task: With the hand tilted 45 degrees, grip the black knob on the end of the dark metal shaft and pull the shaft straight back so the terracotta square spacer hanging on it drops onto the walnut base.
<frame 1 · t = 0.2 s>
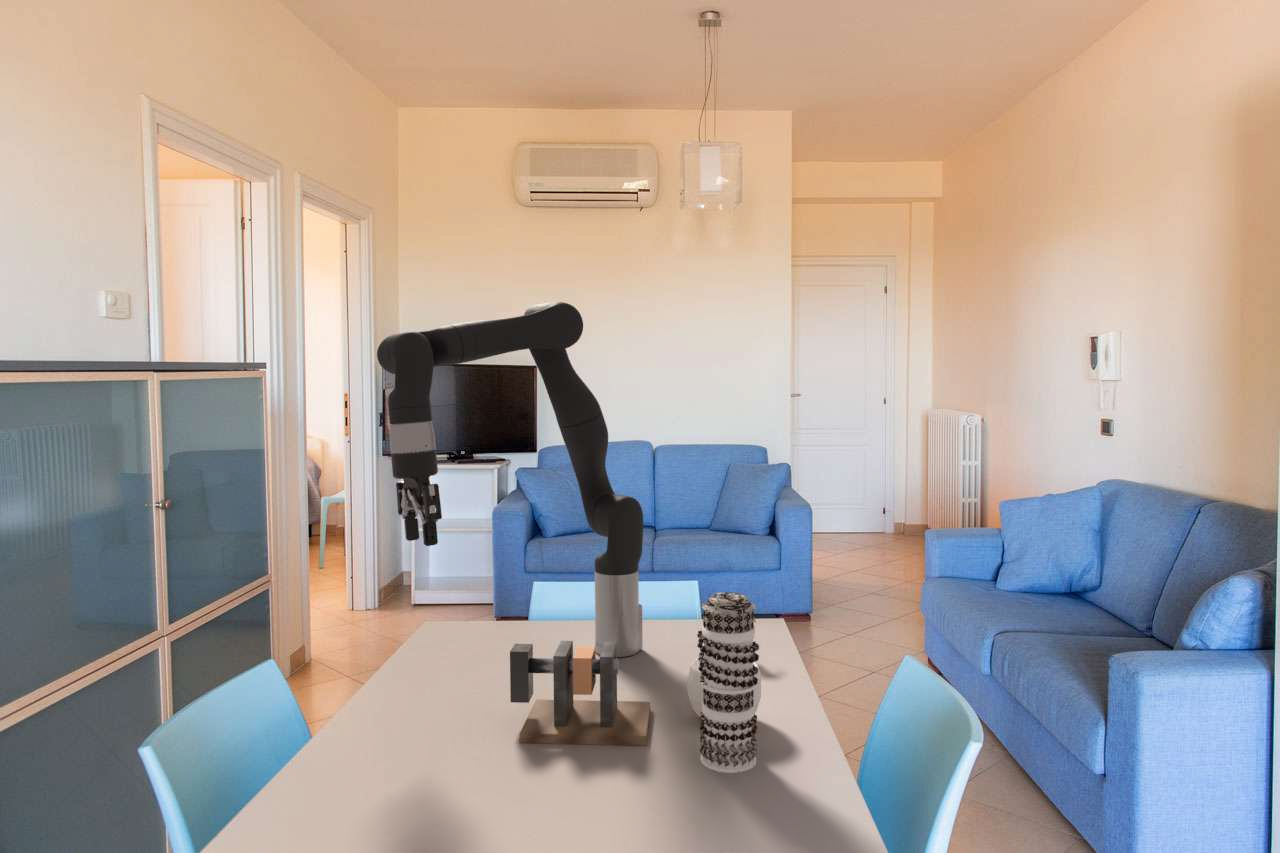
hand: (421, 542, 143), 29 cm above the table, tool pointing down, fingers open, 8 cm apart
rig: (588, 725, 138), on the table
cup: (724, 722, 139), on the table
decorative candle: (728, 761, 125), on the table
spacer: (584, 687, 137), point 6 cm above the table, touching shaft
shaft: (565, 673, 138), point 9 cm above the table, slide at 0.0 cm, touching spacer
figurine: (735, 657, 172), on the table
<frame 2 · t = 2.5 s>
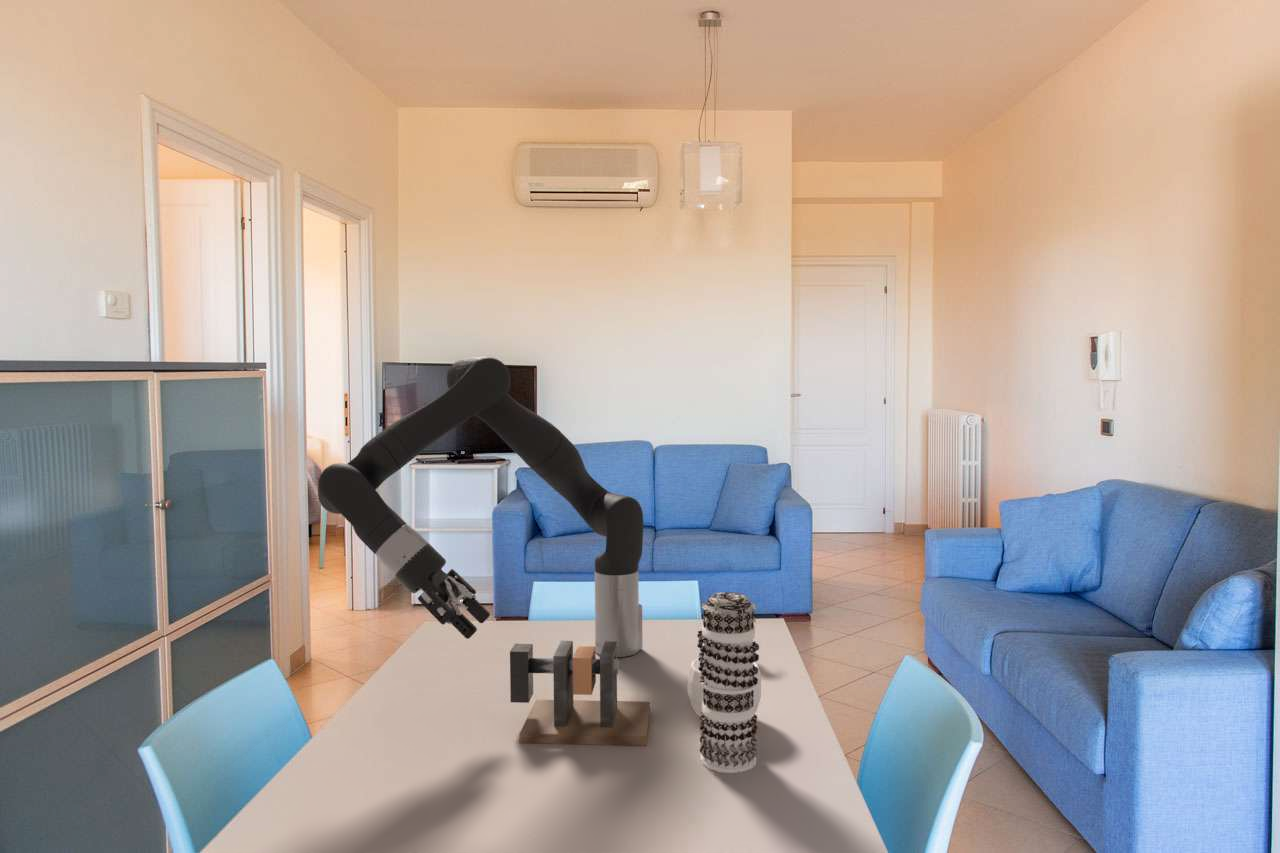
hand: (479, 626, 138), 16 cm above the table, tool tilted 45°, fingers open, 8 cm apart
nothing on the table moved.
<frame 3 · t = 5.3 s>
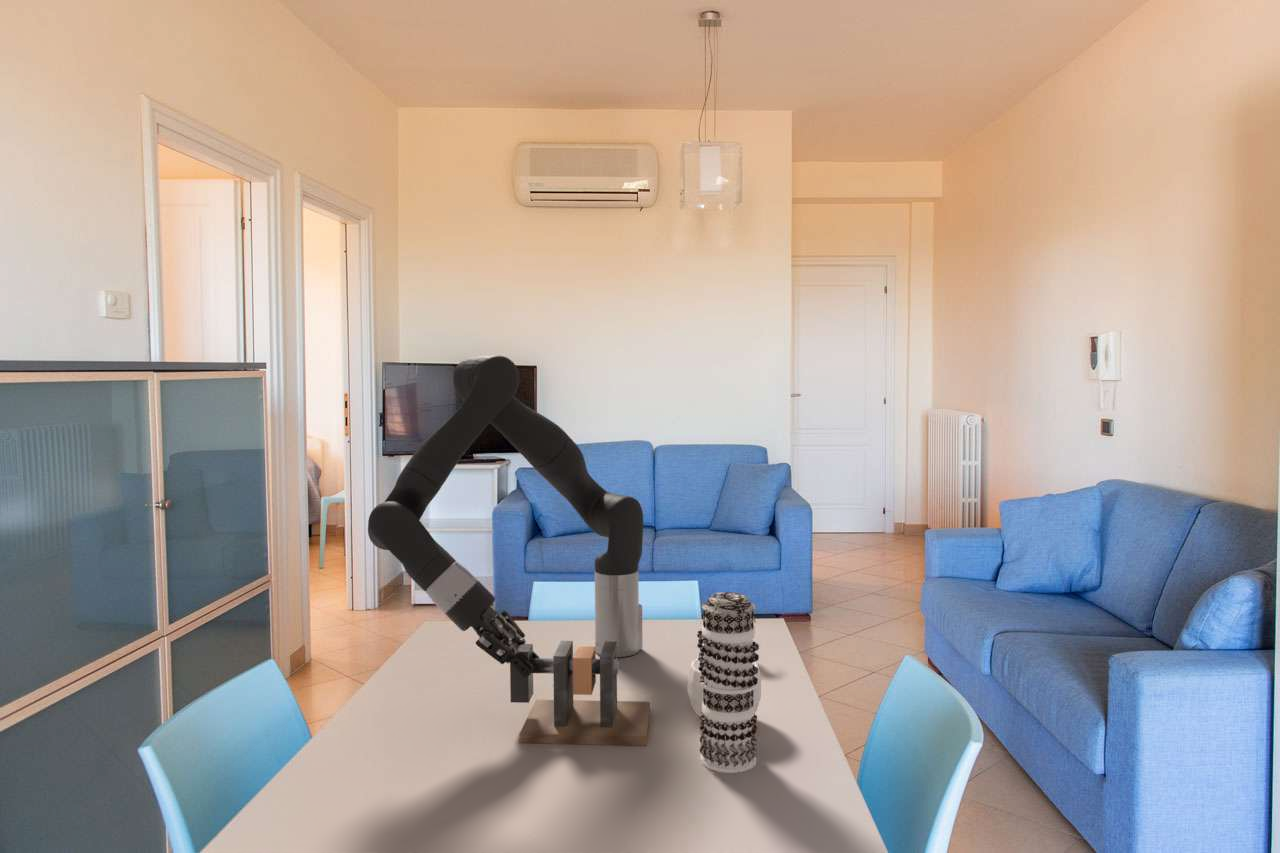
hand: (533, 668, 138), 10 cm above the table, tool tilted 45°, fingers closed on shaft, 4 cm apart
shaft: (565, 673, 138), point 9 cm above the table, slide at 0.0 cm, touching gripper, spacer
everything else where it was.
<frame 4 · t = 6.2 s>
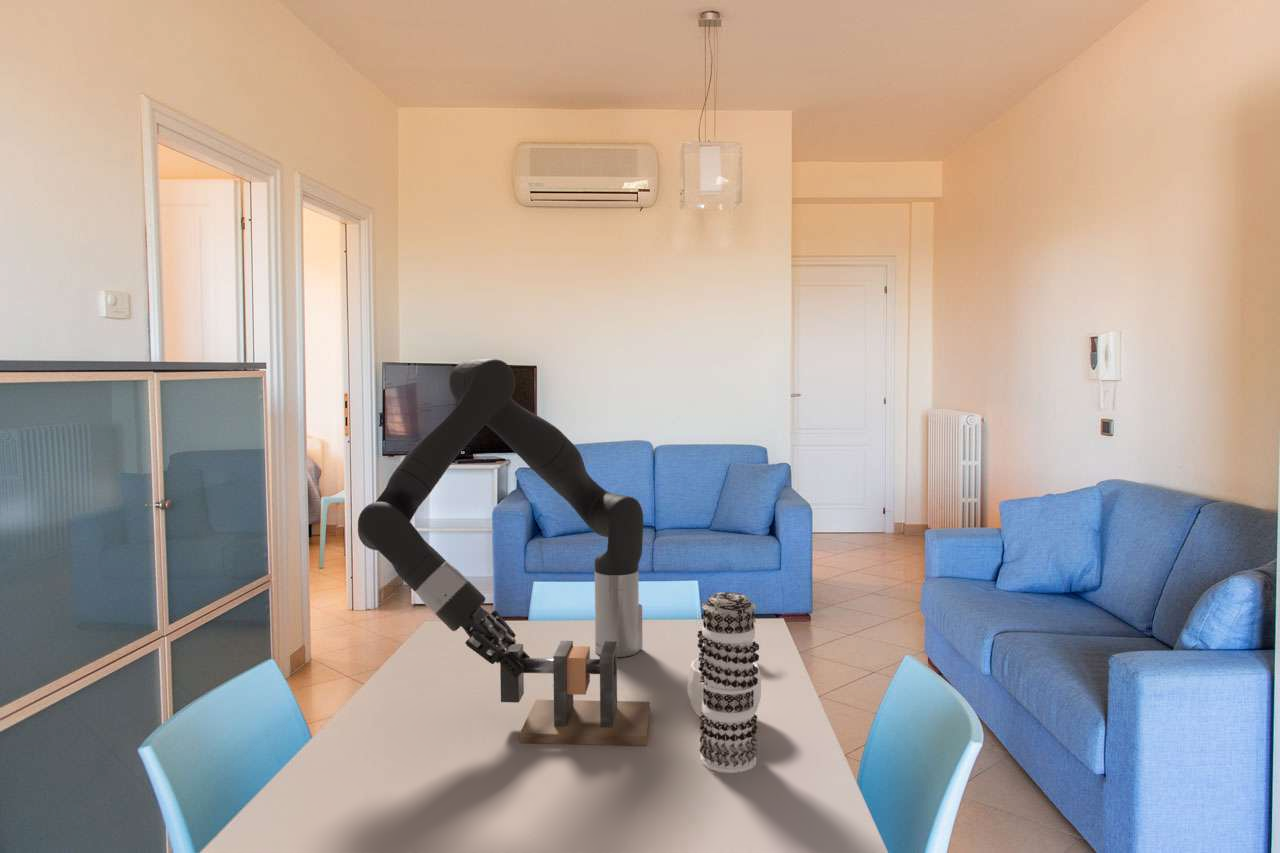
hand: (523, 668, 138), 10 cm above the table, tool tilted 45°, fingers closed on shaft, 4 cm apart
spacer: (578, 687, 138), point 6 cm above the table, touching rig
shaft: (555, 673, 138), point 9 cm above the table, slide at 1.6 cm, touching gripper
everything else where it was.
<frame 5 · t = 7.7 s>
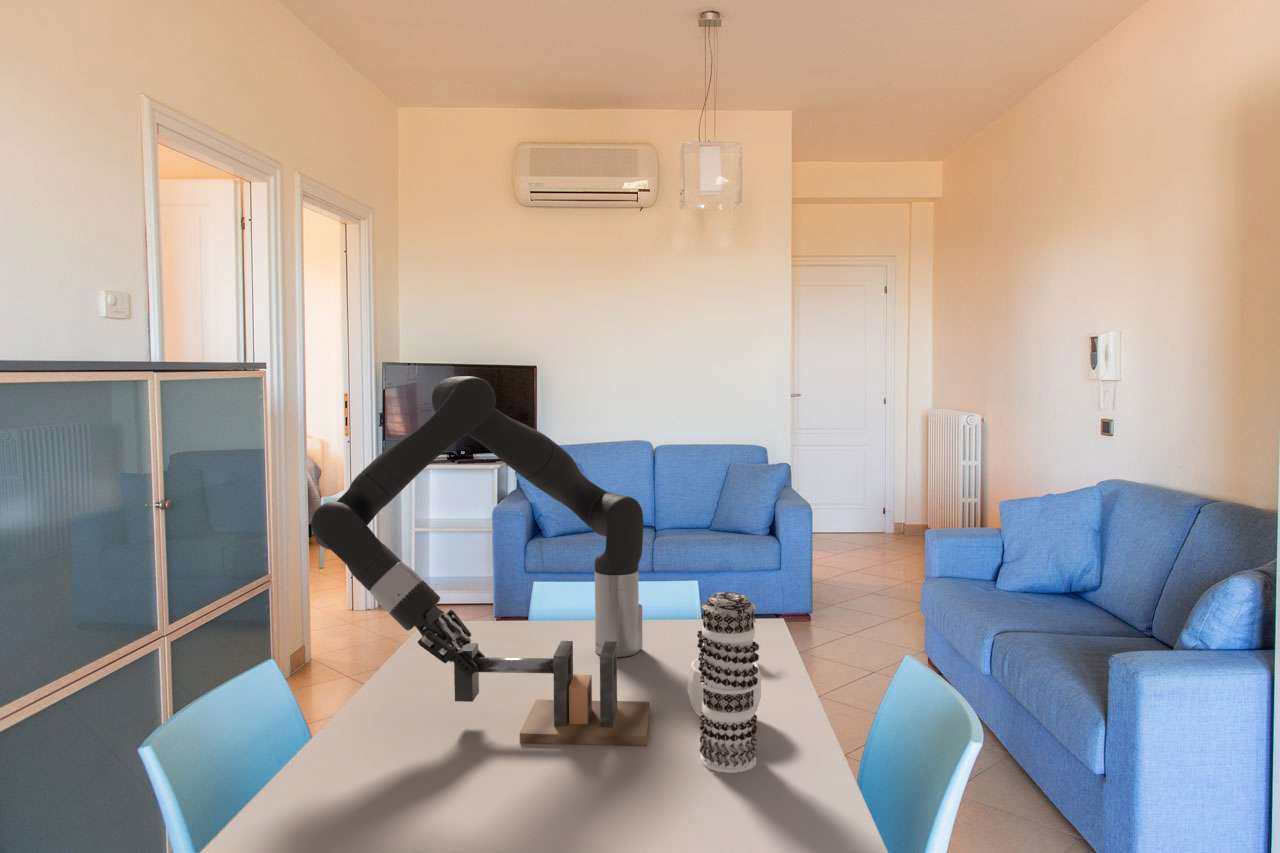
hand: (477, 667, 138), 10 cm above the table, tool tilted 45°, fingers closed on shaft, 4 cm apart
spacer: (580, 716, 138), point 1 cm above the table, touching rig
shaft: (509, 672, 138), point 9 cm above the table, slide at 9.3 cm, touching gripper
everything else where it was.
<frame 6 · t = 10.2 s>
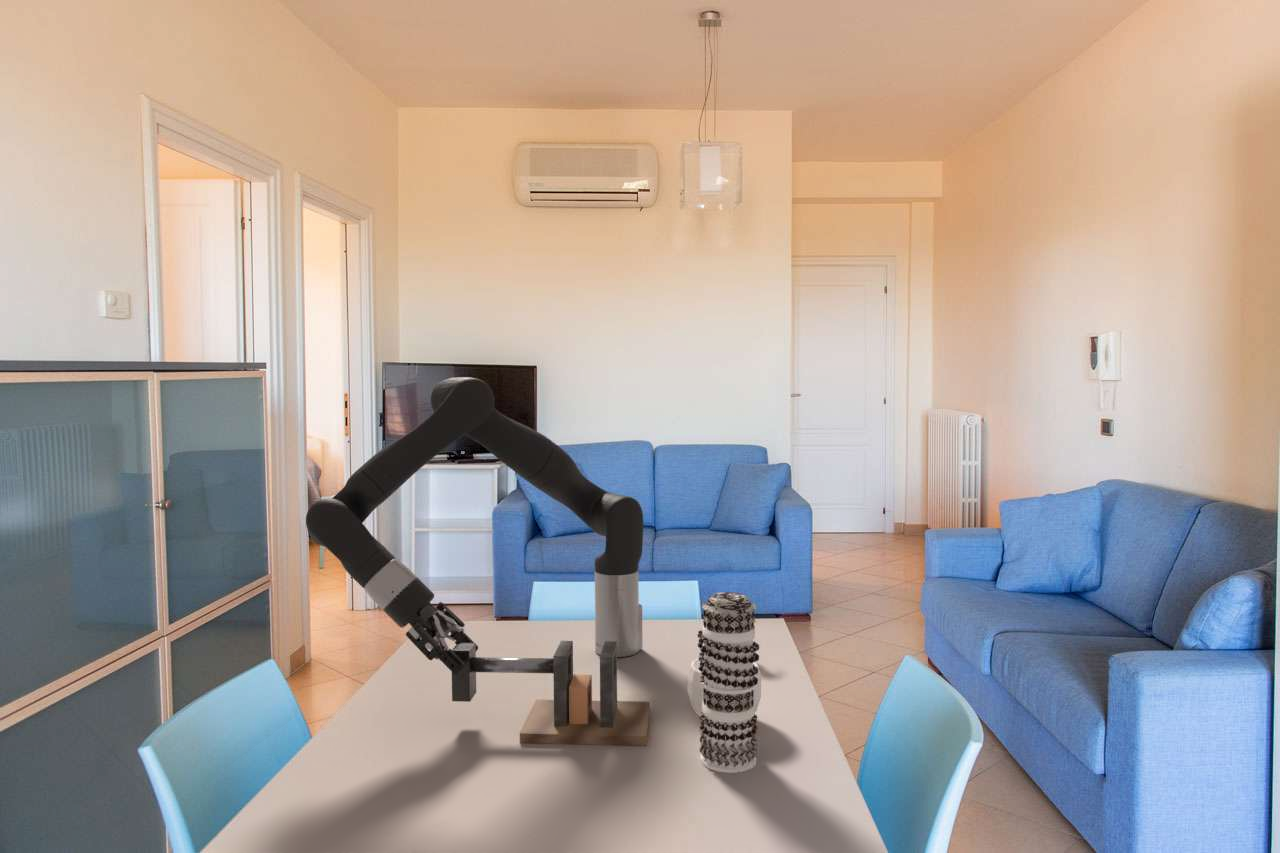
hand: (467, 661, 138), 11 cm above the table, tool tilted 45°, fingers open, 8 cm apart
shaft: (506, 672, 138), point 9 cm above the table, slide at 9.8 cm
everything else where it was.
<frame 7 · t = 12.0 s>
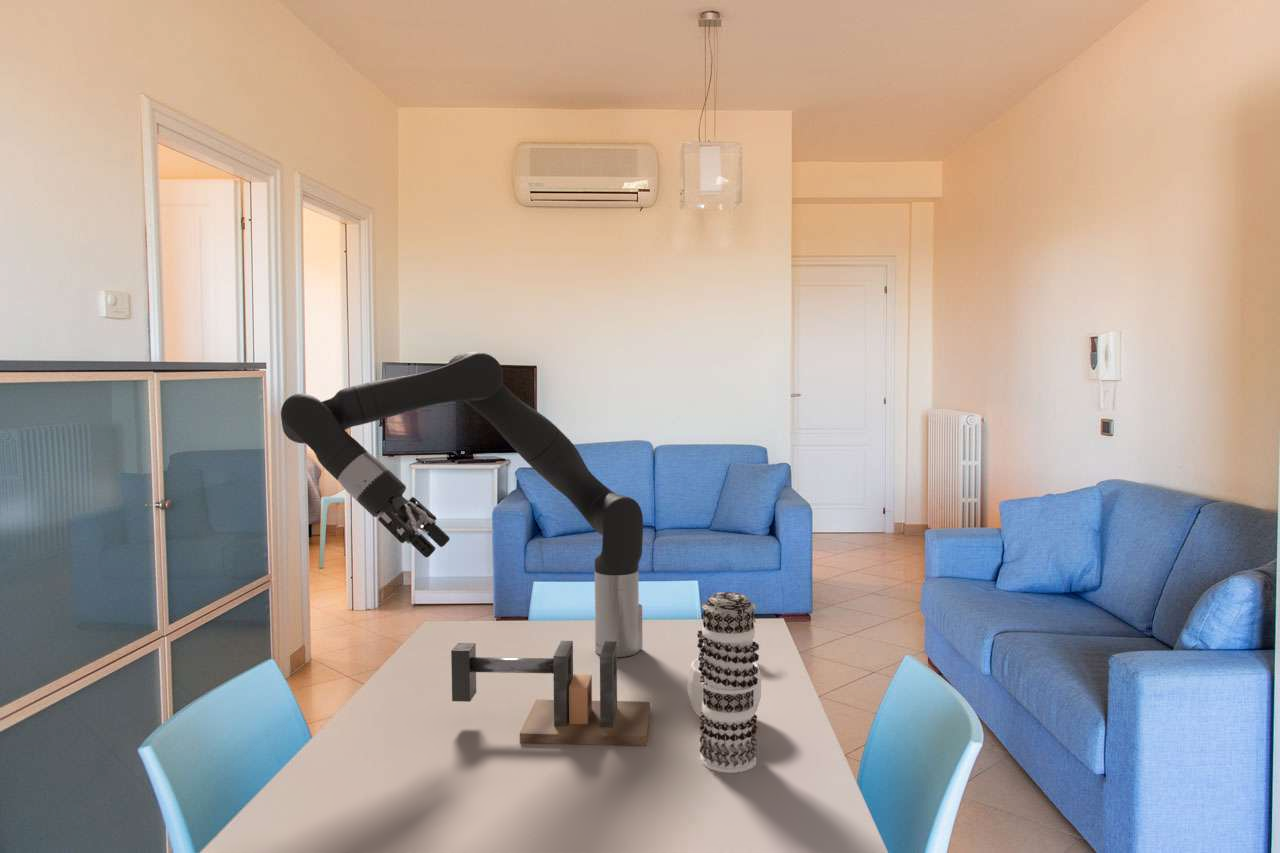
hand: (439, 548, 145), 28 cm above the table, tool tilted 45°, fingers open, 8 cm apart
nothing on the table moved.
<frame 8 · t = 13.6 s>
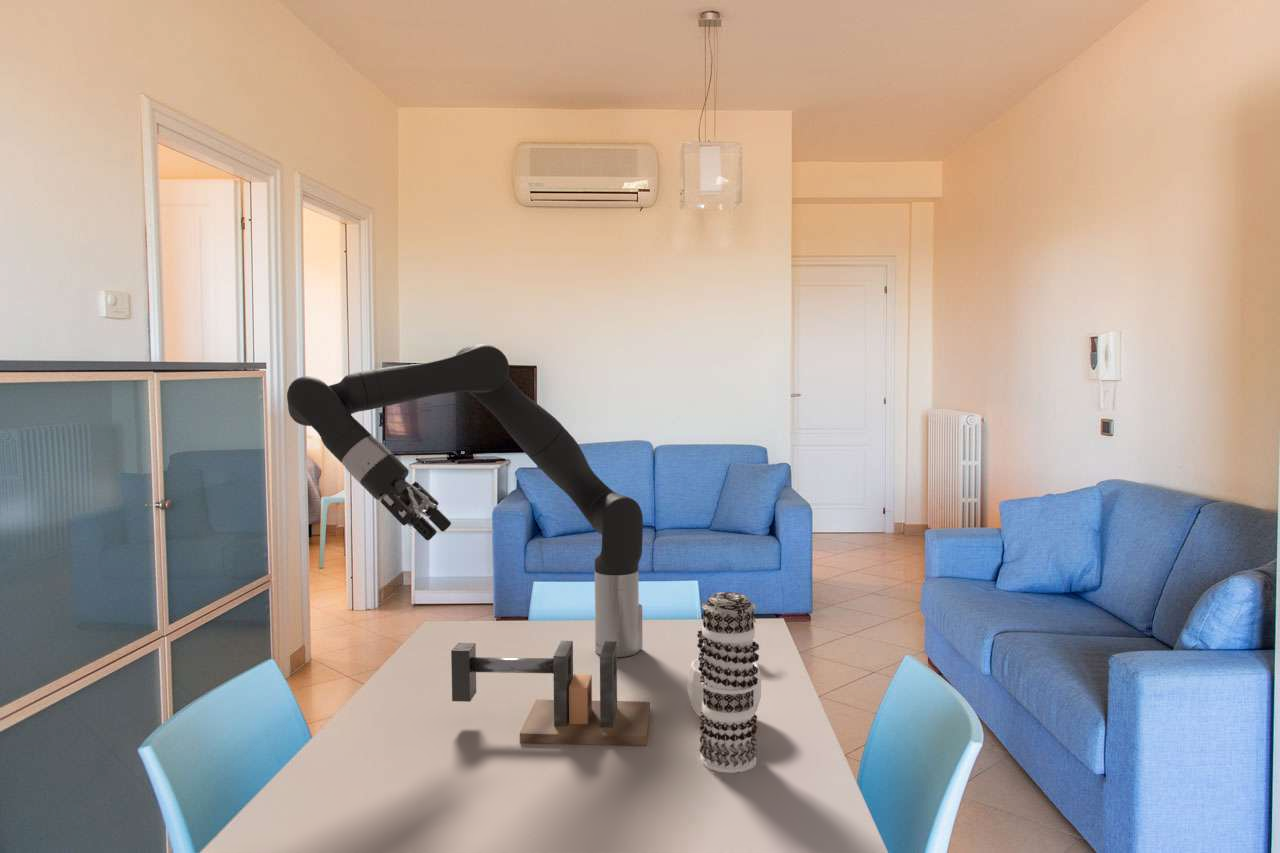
hand: (440, 532, 146), 31 cm above the table, tool tilted 45°, fingers open, 8 cm apart
nothing on the table moved.
at the end: shaft slide at 9.8 cm; spacer inside the target area on the rig (1.2 cm from its centre), point 1.5 cm above the rig's base; the gripper is holding nothing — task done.
